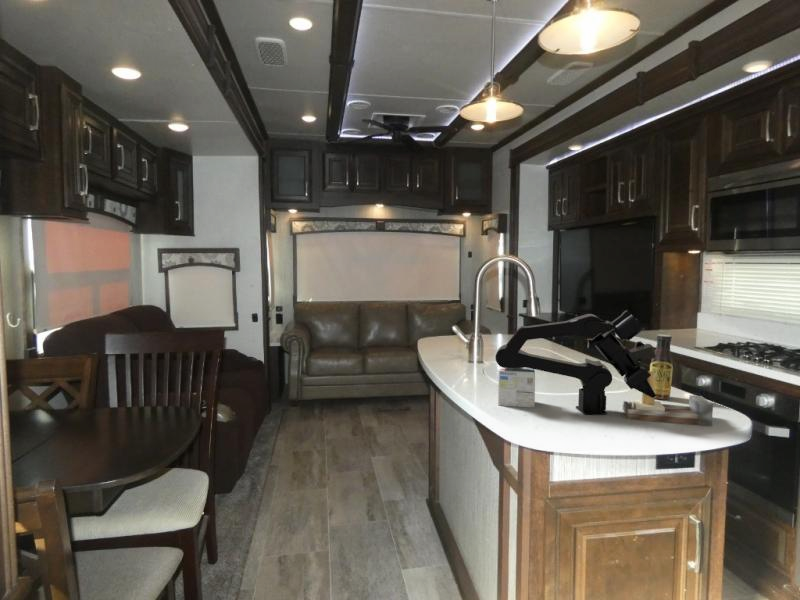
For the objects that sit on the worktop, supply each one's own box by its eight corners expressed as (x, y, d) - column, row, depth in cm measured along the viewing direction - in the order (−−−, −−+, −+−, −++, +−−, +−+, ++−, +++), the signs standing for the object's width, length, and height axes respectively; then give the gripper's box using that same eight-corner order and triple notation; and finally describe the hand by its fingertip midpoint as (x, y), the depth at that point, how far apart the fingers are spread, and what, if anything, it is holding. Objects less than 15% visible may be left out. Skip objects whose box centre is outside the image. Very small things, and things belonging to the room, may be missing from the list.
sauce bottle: (647, 398, 152) (650, 335, 150) (648, 393, 157) (650, 332, 156) (671, 401, 149) (674, 337, 147) (671, 396, 154) (674, 334, 153)
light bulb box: (533, 401, 149) (534, 367, 148) (535, 408, 142) (536, 372, 141) (498, 399, 151) (498, 365, 150) (497, 406, 145) (498, 370, 144)
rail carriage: (636, 411, 133) (637, 373, 132) (631, 405, 139) (633, 369, 138) (664, 414, 131) (666, 375, 130) (659, 407, 137) (660, 370, 136)
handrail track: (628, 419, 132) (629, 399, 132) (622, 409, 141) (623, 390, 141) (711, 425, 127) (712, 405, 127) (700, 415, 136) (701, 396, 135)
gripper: (645, 338, 125) (688, 386, 123) (632, 328, 143) (669, 370, 141) (609, 365, 128) (651, 411, 126) (600, 352, 146) (636, 393, 144)
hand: (653, 395), depth 134 cm, fingers closed on rail carriage, 3 cm apart
